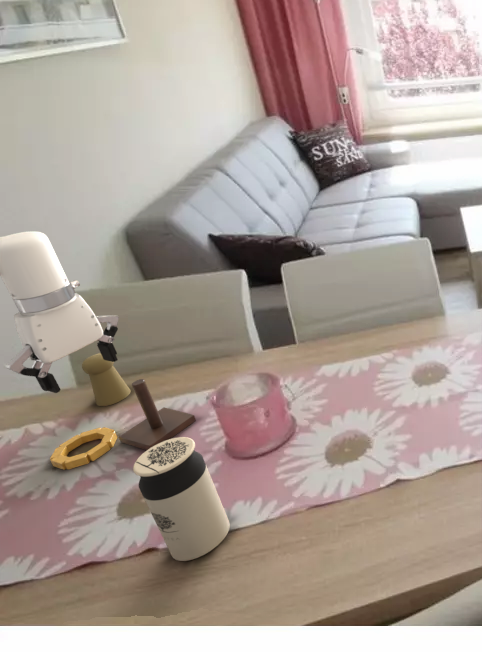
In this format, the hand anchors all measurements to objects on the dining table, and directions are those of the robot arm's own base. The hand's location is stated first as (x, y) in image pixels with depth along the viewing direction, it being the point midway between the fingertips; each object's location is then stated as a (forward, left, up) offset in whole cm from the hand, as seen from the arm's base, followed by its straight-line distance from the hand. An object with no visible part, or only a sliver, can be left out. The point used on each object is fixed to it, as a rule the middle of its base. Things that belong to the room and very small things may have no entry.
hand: (83, 375), depth 104 cm
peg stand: (+4, -8, -16) cm, 18 cm away
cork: (+9, +14, -16) cm, 23 cm away
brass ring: (-4, +1, -16) cm, 16 cm away
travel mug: (-12, -41, -16) cm, 45 cm away
